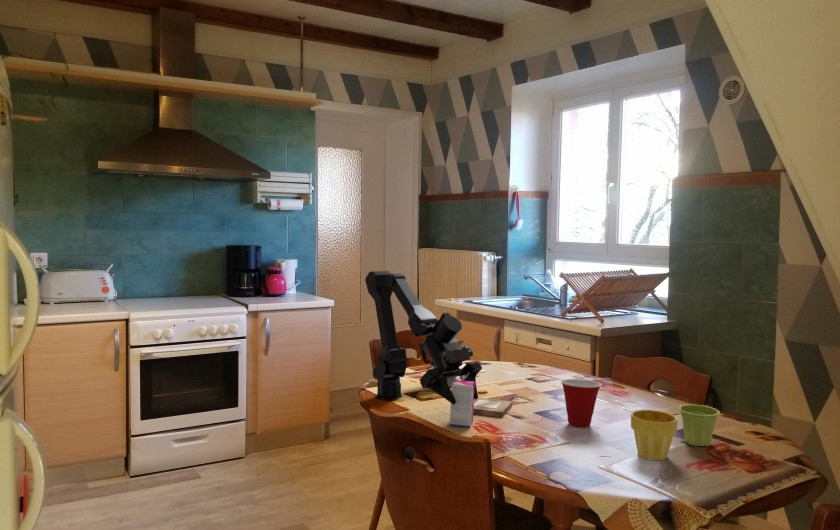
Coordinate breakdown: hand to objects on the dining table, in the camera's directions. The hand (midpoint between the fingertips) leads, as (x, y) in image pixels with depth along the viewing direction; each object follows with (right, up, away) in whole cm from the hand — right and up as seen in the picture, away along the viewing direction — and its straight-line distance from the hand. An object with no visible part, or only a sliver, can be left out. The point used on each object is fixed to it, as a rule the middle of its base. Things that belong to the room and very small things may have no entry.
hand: (465, 401), depth 179 cm
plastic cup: (+31, -7, +4) cm, 32 cm away
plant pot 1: (+43, -9, -20) cm, 48 cm away
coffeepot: (-5, -4, +44) cm, 45 cm away
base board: (+7, -6, +16) cm, 19 cm away
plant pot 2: (+58, -9, -10) cm, 59 cm away
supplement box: (-1, -7, +1) cm, 7 cm away
